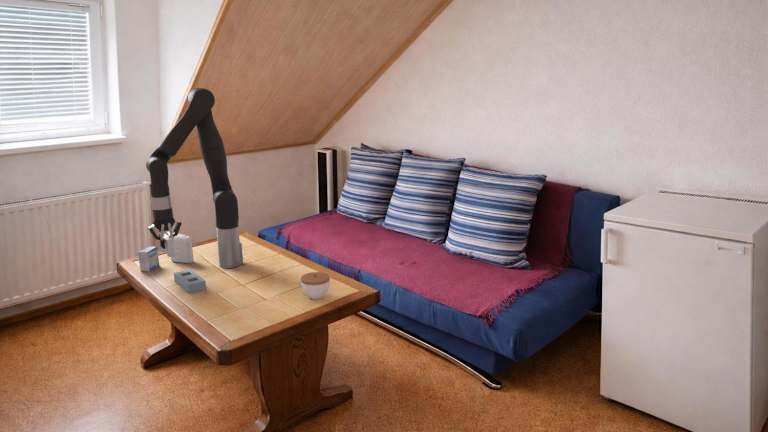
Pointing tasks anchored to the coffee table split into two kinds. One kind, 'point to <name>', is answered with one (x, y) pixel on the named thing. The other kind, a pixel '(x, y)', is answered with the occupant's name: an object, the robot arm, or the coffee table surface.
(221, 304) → the coffee table surface
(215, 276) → the coffee table surface
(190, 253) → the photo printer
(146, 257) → the medicine box
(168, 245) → the metal block
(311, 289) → the lidded jar
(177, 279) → the blue-grey slotted block
